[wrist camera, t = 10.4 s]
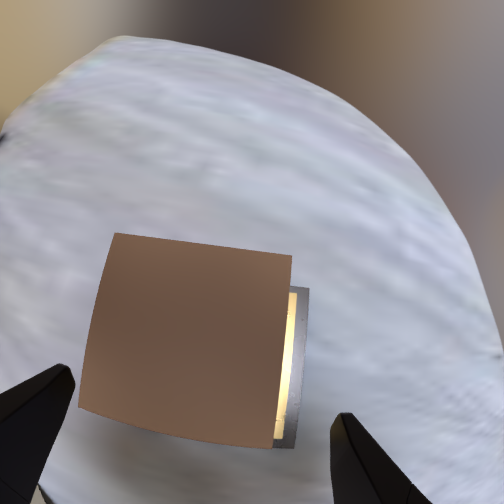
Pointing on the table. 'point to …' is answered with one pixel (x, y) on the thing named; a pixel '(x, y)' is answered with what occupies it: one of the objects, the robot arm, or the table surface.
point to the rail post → (188, 340)
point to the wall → (37, 497)
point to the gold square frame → (292, 369)
